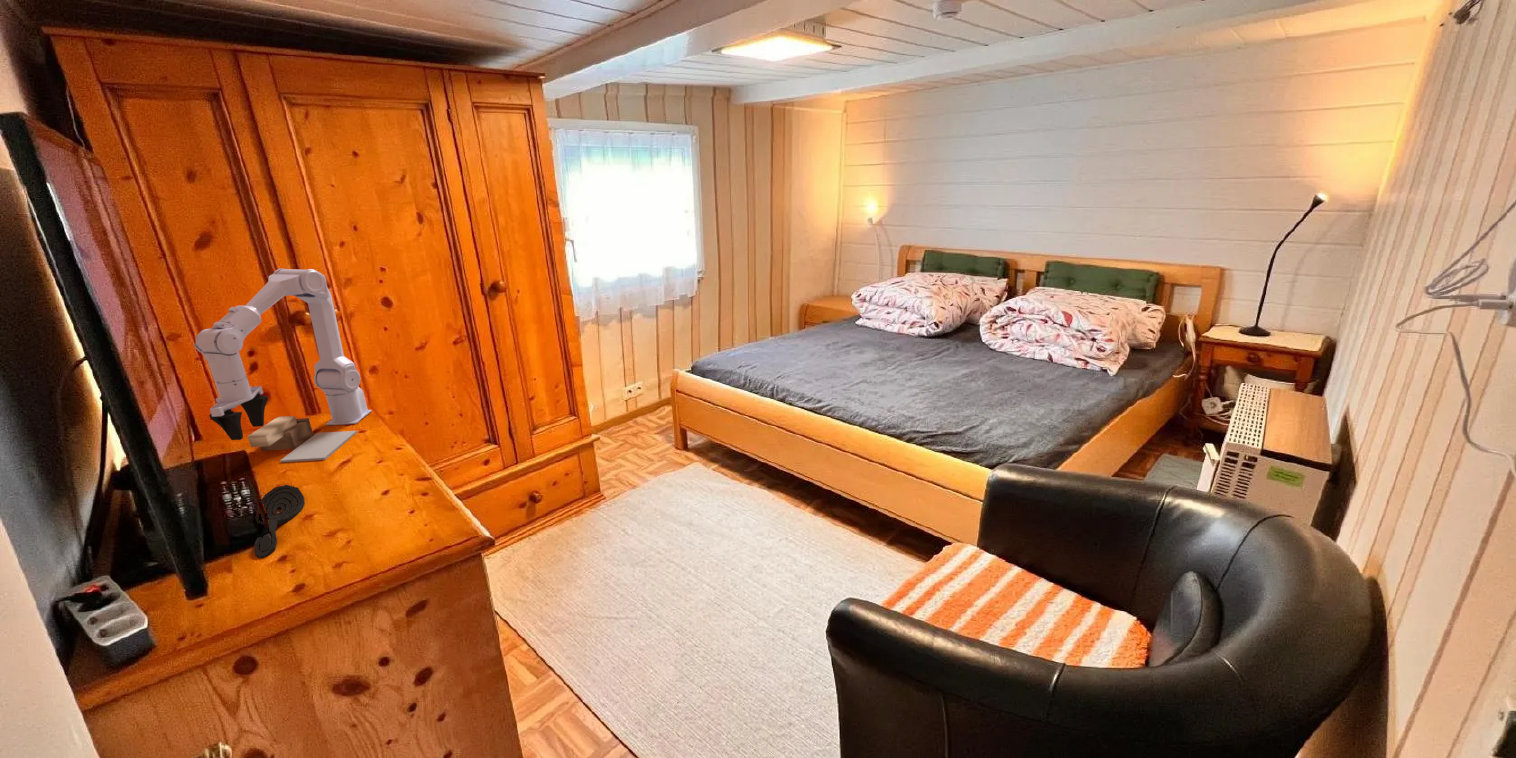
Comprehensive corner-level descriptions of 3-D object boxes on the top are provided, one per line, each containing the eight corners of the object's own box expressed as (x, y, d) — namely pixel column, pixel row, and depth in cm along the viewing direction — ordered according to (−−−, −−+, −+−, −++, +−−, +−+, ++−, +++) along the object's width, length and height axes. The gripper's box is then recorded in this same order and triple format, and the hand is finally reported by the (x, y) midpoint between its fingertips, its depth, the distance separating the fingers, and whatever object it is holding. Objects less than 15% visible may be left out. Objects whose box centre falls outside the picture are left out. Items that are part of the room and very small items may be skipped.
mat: (317, 434, 159) (316, 432, 158) (357, 432, 160) (356, 430, 160) (280, 462, 144) (280, 460, 144) (325, 459, 145) (324, 457, 145)
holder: (281, 436, 158) (276, 419, 156) (313, 435, 159) (308, 418, 157) (261, 450, 150) (255, 433, 148) (295, 448, 151) (290, 431, 149)
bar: (281, 427, 155) (278, 416, 154) (297, 426, 155) (294, 415, 154) (251, 447, 144) (247, 436, 143) (269, 446, 144) (265, 435, 143)
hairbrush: (230, 554, 106) (256, 486, 126) (237, 570, 107) (261, 501, 127) (287, 540, 110) (304, 477, 130) (293, 556, 111) (308, 491, 131)
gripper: (233, 370, 142) (249, 421, 146) (187, 391, 128) (207, 446, 133) (265, 368, 143) (280, 419, 147) (223, 389, 129) (241, 444, 134)
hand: (248, 432), depth 140 cm, fingers open, 7 cm apart
